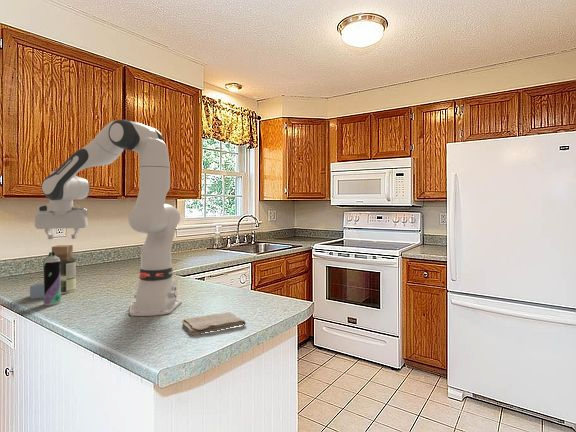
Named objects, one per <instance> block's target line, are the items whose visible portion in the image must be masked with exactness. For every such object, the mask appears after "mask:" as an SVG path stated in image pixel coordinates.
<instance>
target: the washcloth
mask: <svg viewBox="0 0 576 432" xmlns="http://www.w3.org/2000/svg"><path fill="white" fill-rule="evenodd" d="M181 323H182V326H183V329H184V330H185V329H186V330H185V331H187V333H188V332H189V333H190V334H191V335H190V334H189V333H188V334H189V335H190V336H198V335H197V334H200V335H202V334H201V333H205V332H210V331H217V330H221V329H226V328H230V327H234V326H239V325H243V324H244V325H245V326H246V325H247V324H246V321H245V319H244V320H243V319H242V318H240V317H237V316H236V315H235V314H234V313H232V312H221V313H212V314H207V315H206V314H205V315H200V316H194V317H188V318H184V319H183V320H182V321H181Z"/></svg>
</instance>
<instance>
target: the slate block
mask: <svg viewBox="0 0 576 432" xmlns="http://www.w3.org/2000/svg"><path fill="white" fill-rule="evenodd" d="M29 298H30V299H40V298H44V282H42V283H40V282H39V283H32V284H31V285H30V286H29Z"/></svg>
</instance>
